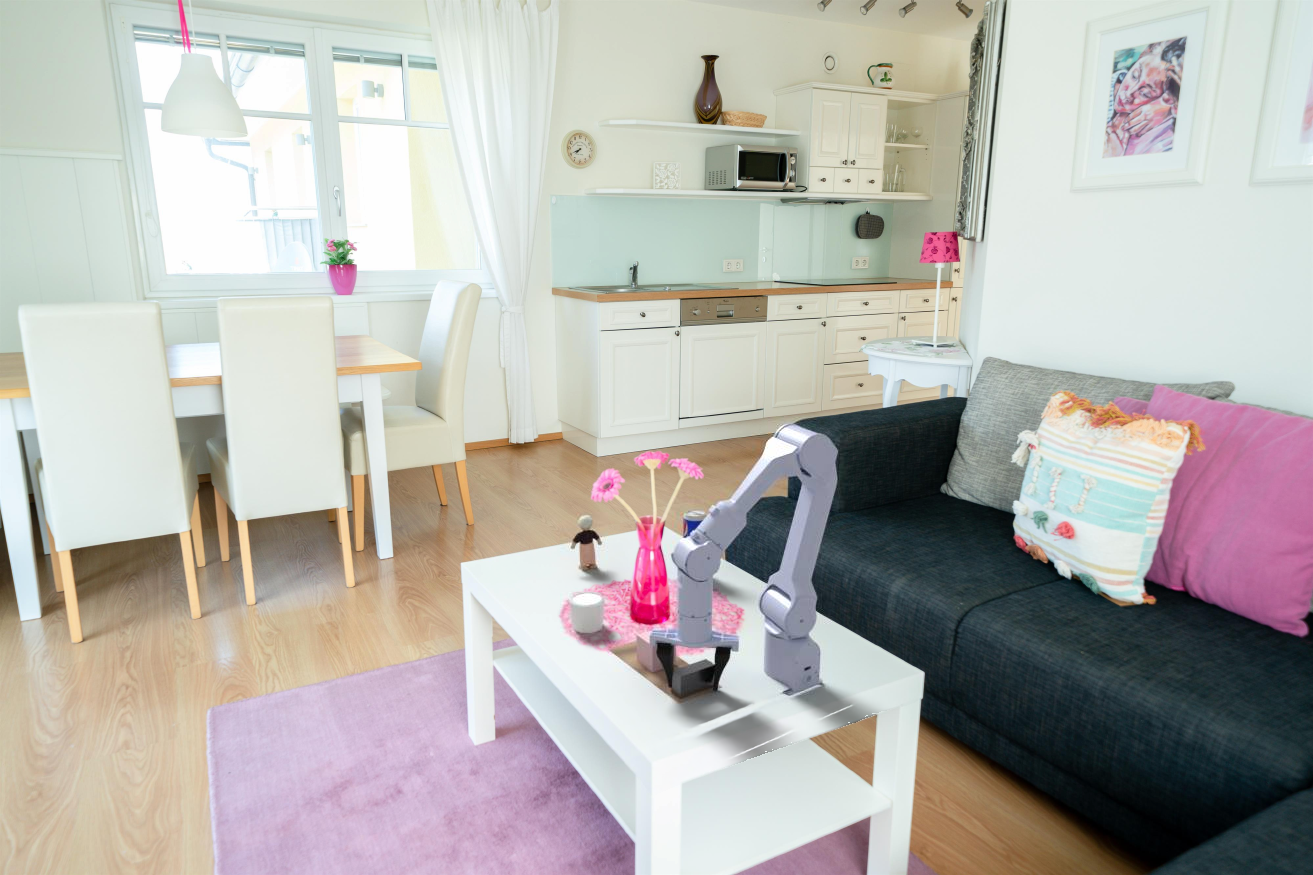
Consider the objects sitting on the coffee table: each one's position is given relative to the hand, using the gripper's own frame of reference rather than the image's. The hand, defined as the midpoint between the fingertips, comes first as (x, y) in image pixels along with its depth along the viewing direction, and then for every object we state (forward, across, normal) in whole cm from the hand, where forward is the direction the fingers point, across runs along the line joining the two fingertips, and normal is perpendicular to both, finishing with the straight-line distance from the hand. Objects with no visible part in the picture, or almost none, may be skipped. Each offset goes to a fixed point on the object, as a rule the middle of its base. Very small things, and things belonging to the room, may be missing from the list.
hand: (693, 686), depth 136 cm
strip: (+2, +6, -7) cm, 9 cm away
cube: (+1, +7, -8) cm, 11 cm away
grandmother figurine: (+2, +30, -53) cm, 61 cm away
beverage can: (+2, +5, -52) cm, 52 cm away
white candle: (+2, +23, -20) cm, 31 cm away
